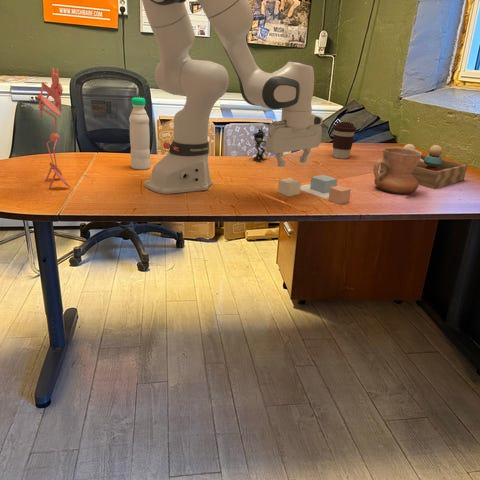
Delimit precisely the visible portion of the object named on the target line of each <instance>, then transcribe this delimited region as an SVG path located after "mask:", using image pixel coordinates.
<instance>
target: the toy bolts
mask: <svg viewBox="0 0 480 480" xmlns="http://www.w3.org/2000/svg"><path fill="white" fill-rule="evenodd" d="M402 148H409V149H414V150H417V149H416V147H415V145H414V144H412V143H407V144H405V145H404V146H403V147H402ZM442 154H443V149H442V147H441V146H440V145H438V144H434V145H431V146H430V148H429V149H428V154H427V155H425V156H426V158H425V159H424V162H425V164H426V165H428V166H426V167H424V169H428V170H432V171H439V169H438V168H437V166H440V165H441V164H442V160H443V159H442V156H441V155H442Z"/></svg>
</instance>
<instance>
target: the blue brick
mask: <svg viewBox="0 0 480 480" xmlns="http://www.w3.org/2000/svg"><path fill="white" fill-rule="evenodd" d="M337 183H338V179H337V178H336V177H333V176H328V175H326V174H320V175H313V176H311V177H310V184H311V185H310V189H313V190H316V191H319V192H321V193H327V192H330V188H331V187H335V186H338V185H337Z"/></svg>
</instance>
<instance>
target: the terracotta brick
mask: <svg viewBox="0 0 480 480" xmlns="http://www.w3.org/2000/svg"><path fill="white" fill-rule="evenodd" d="M351 191H352V189H351V188H349V187H345V186H342V185H336V186H335V187H331V188H330V192H329V198H328V201H330V202H332V203H334V204H338V205H342V204H346V203H350V198H351V193H352V192H351Z"/></svg>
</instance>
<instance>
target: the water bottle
mask: <svg viewBox="0 0 480 480" xmlns="http://www.w3.org/2000/svg"><path fill="white" fill-rule="evenodd" d="M131 105H132V109H131V112H130V115H129V117H128V121H129V142H130V158H131V159H130V166H131V168H132V169H133V170H138V171H140V170H141V171H142V170H148V169H150V168H151V150H150V145H151V144H150V141H151V140H150V139H151V138H150V137H151V136H150V134H151V133H150V118H149V116H148V114H147V111H146V109H145V106H146V99H145V97H132V98H131Z"/></svg>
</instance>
